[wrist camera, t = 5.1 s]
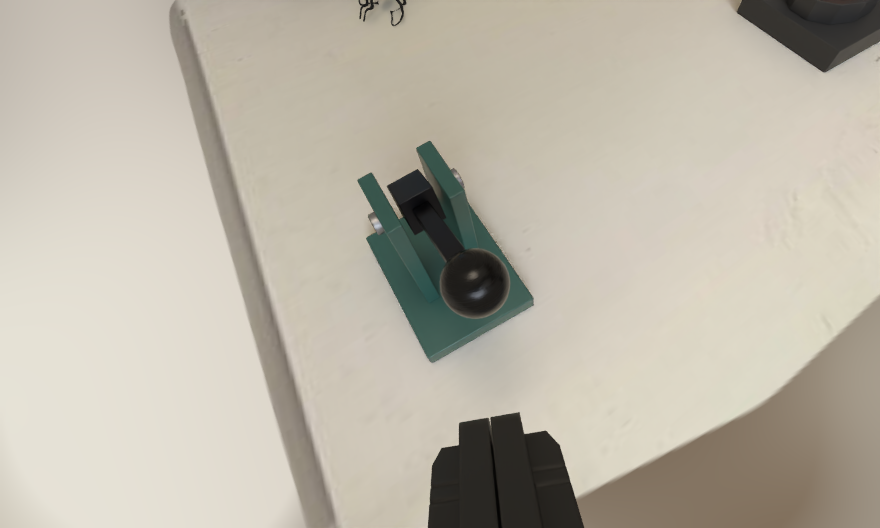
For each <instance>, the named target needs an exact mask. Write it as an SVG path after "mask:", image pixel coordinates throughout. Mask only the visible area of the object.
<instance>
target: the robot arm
mask: <svg viewBox="0 0 880 528" xmlns="http://www.w3.org/2000/svg"><path fill="white" fill-rule="evenodd" d="M428 528H584V526H583V522H582V519H581V516H580V512H579V509H578V505H577V502H576V499H575V495H574V492H573V489H572V485H571V483H570V479H569V475H568V472H567V469H566V466H565V462H564V459H563V455H562V452H561V449H560V445H559V444H558V443H557V442H556V441H555V440H554V439H553V438H552V437H551V436H550V435H549V433H548V432H547V431H541V432H535V433H529V434H524V431H523V427H522V422H521V417H520V413H519V412H518V413H513V414H507V415H501V416H495V417H491V425H490V421H489V418H484V419H478V420H472V421H467V422H461V423H459V445H458V446H452V447H446V448H441V450H440V452H439V454H438V456H437V458H436V460H435V461H434V463H433V465H432V476H431V490H430V505H429V520H428Z"/></svg>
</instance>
